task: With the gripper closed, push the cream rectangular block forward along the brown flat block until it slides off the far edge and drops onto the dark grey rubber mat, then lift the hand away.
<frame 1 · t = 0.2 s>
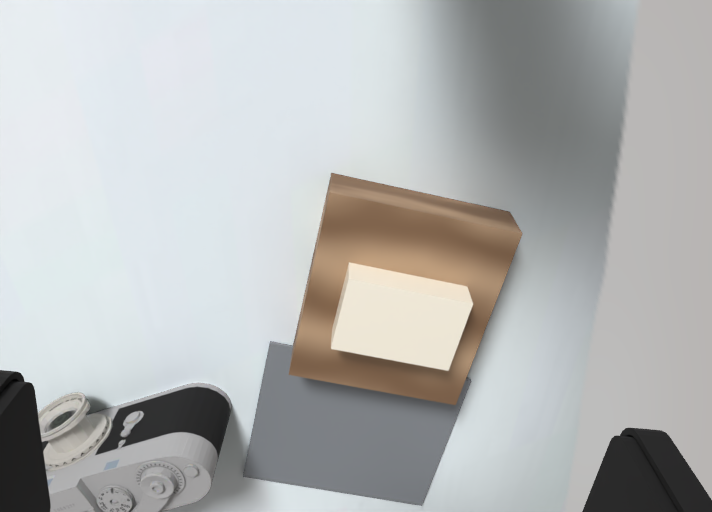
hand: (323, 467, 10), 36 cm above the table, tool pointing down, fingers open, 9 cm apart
mat: (351, 428, 57), on the table
cream rectangular block: (398, 308, 46), point 4 cm above the table, touching brown flat block
brown flat block: (395, 282, 49), on the table
camera: (117, 417, 56), on the table
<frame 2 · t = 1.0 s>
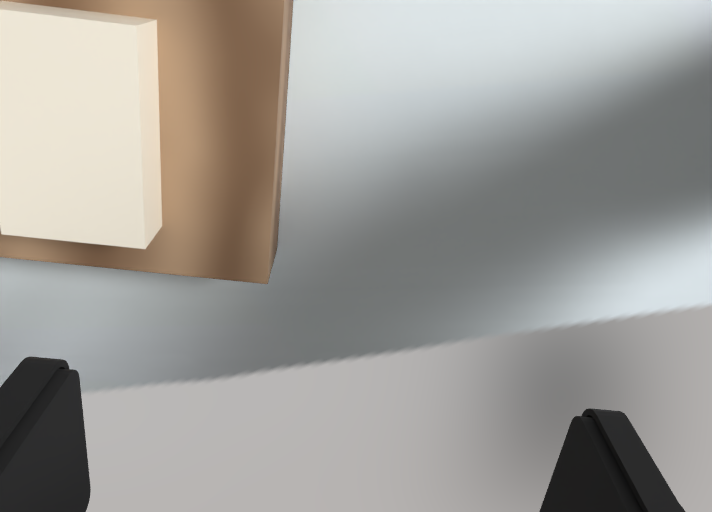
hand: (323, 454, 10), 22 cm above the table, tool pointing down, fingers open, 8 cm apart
cream rectangular block: (88, 122, 26), point 4 cm above the table, touching brown flat block
brown flat block: (121, 102, 30), on the table
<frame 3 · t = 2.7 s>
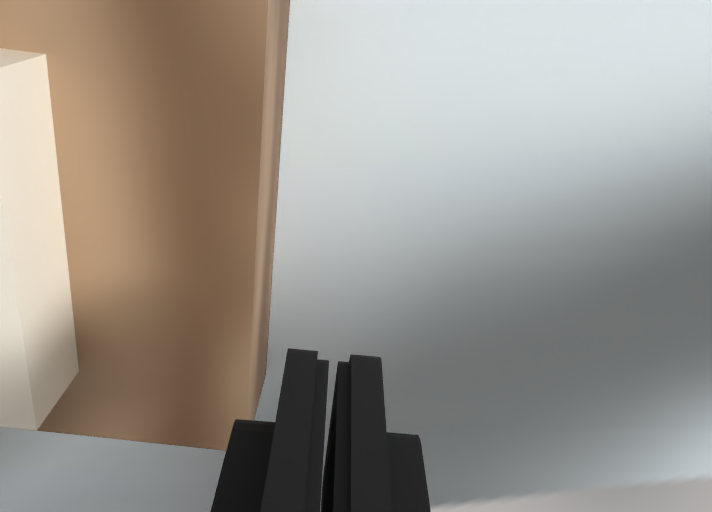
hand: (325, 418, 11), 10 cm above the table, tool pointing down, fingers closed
brown flat block: (26, 170, 19), on the table
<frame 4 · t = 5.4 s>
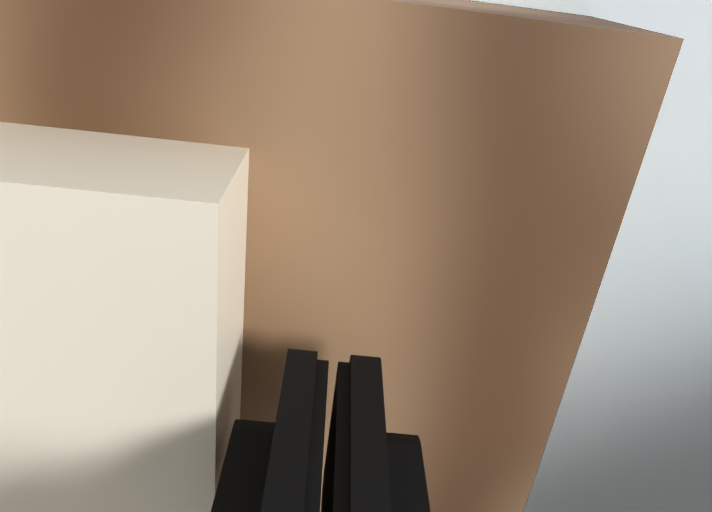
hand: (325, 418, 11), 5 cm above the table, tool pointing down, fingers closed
cream rectangular block: (85, 358, 12), point 4 cm above the table, touching brown flat block, gripper
brown flat block: (204, 269, 15), on the table
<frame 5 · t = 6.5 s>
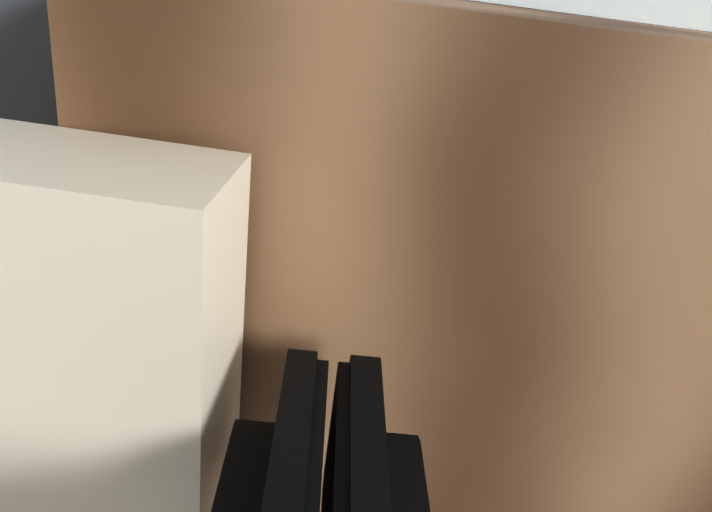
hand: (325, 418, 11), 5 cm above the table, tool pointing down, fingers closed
cream rectangular block: (87, 357, 12), point 4 cm above the table
brown flat block: (456, 295, 16), on the table
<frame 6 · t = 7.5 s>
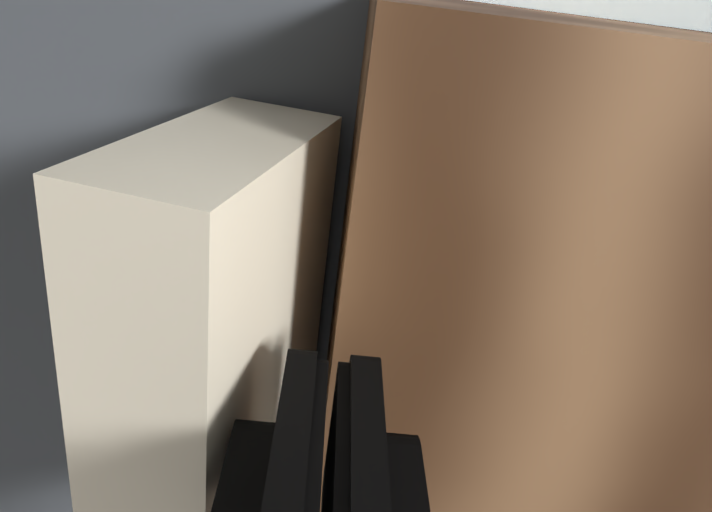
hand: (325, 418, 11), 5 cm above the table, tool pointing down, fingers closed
mat: (15, 251, 15), on the table
cream rectangular block: (276, 371, 12), point 4 cm above the table, tilted 105°, touching gripper, mat
brown flat block: (637, 315, 16), on the table
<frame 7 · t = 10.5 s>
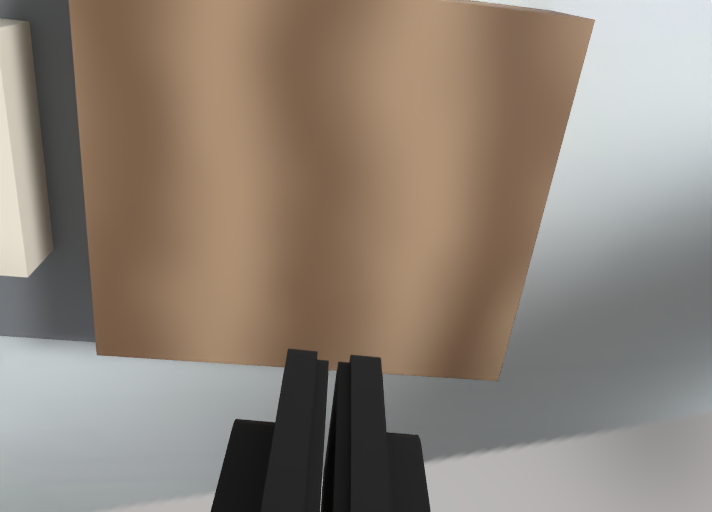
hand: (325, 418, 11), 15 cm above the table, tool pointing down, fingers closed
brown flat block: (320, 169, 25), on the table
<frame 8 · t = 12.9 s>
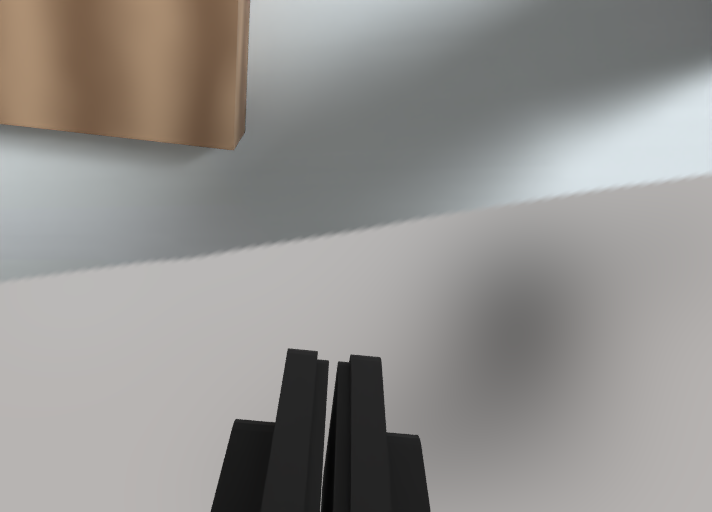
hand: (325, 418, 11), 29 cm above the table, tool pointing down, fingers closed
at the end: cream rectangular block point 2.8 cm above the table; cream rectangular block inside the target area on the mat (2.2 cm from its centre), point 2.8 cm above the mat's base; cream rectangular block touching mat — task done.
